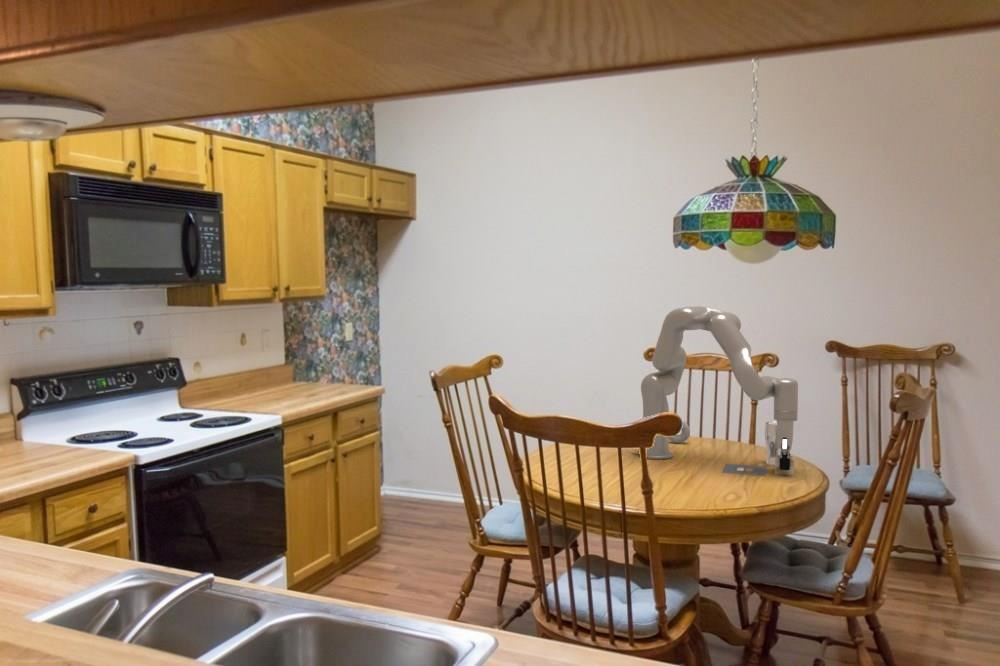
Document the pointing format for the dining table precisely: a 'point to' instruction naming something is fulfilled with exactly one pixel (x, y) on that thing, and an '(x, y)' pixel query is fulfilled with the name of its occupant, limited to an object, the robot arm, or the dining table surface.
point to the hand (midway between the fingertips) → (784, 466)
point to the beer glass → (771, 442)
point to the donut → (683, 435)
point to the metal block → (784, 472)
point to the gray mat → (745, 469)
